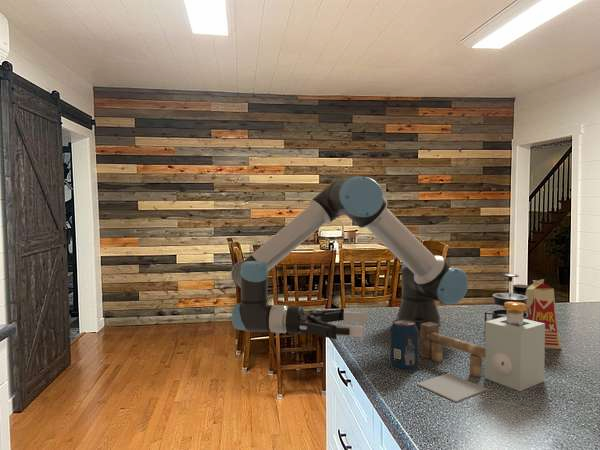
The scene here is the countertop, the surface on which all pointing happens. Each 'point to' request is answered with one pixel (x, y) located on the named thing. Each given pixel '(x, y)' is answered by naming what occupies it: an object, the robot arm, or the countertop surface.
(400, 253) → the robot arm
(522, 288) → the supplement container
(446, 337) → the handrail
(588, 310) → the countertop surface
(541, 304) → the milk carton
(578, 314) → the countertop surface
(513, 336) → the cabinet
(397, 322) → the soda can
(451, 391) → the mat
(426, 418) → the countertop surface
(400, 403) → the countertop surface
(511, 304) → the gauge knob
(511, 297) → the french press
